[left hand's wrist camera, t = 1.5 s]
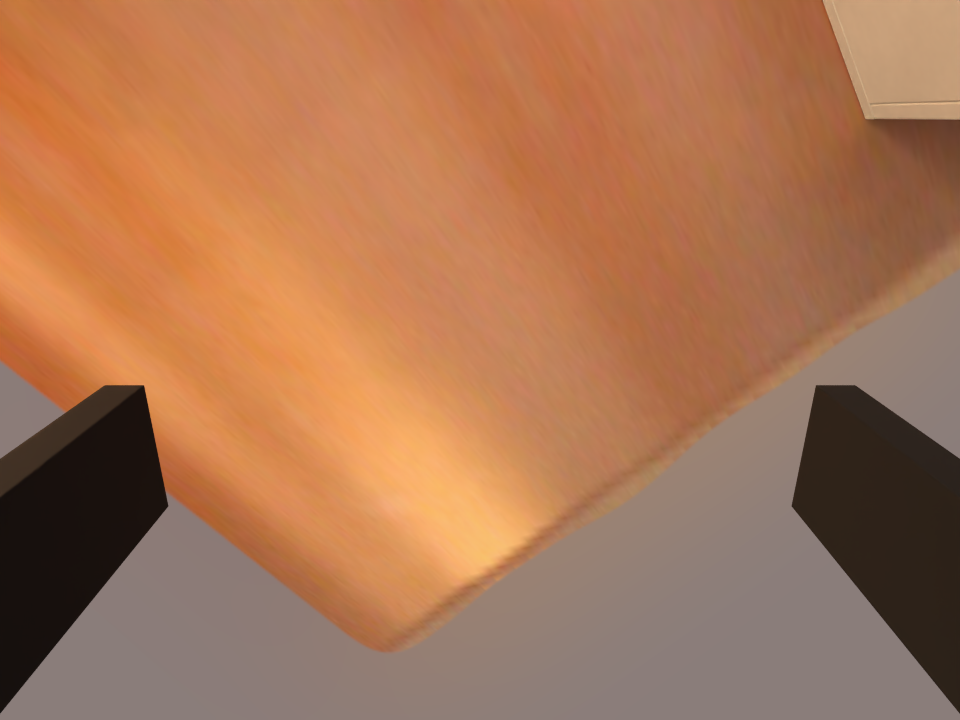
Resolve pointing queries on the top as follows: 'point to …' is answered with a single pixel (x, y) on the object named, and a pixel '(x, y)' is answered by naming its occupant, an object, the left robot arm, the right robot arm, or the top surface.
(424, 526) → the top surface
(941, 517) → the left robot arm
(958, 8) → the chest
